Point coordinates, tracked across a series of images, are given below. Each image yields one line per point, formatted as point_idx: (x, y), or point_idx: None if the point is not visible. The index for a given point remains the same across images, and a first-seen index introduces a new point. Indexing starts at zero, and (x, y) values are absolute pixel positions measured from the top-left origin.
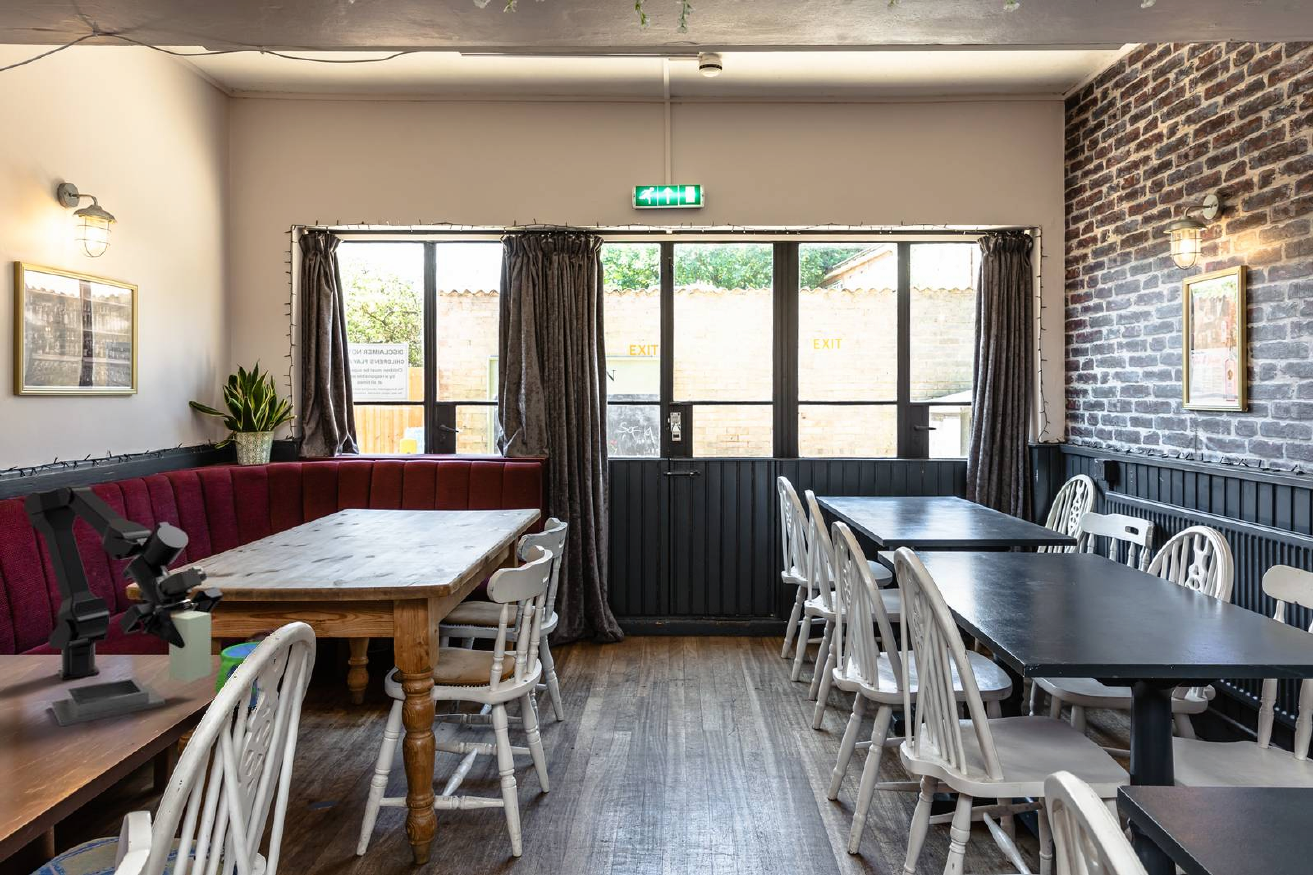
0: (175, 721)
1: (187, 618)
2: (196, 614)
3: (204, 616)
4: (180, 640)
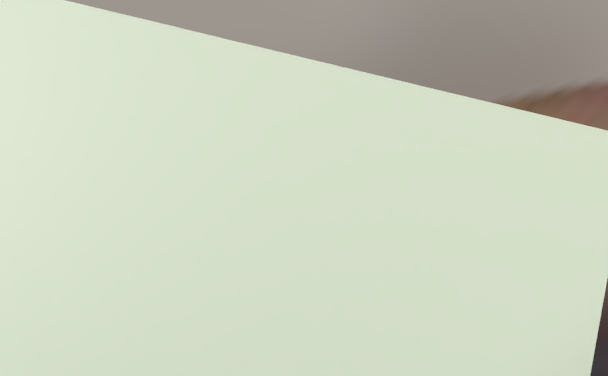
0: (601, 83)
1: (557, 222)
2: (54, 301)
3: (97, 20)
4: None
